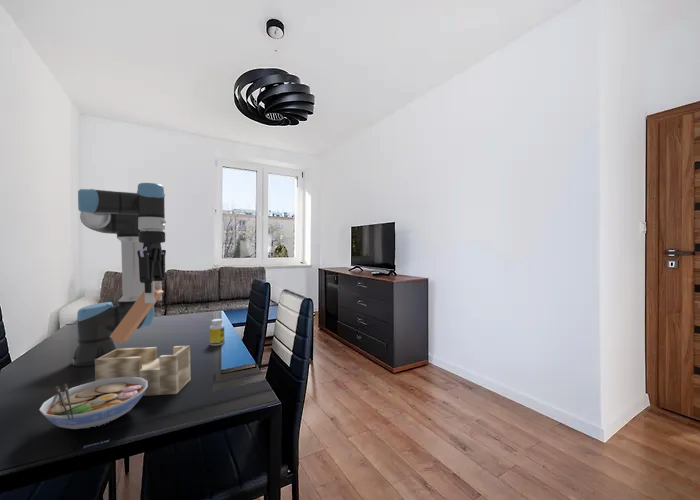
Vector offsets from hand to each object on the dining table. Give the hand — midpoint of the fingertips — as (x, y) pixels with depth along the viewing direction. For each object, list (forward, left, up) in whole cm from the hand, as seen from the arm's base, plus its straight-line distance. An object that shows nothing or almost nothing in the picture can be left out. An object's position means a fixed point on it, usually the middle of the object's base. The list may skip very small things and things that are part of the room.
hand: (153, 301), depth 106 cm
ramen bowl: (-5, -20, -29) cm, 35 cm away
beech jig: (-3, 0, -29) cm, 29 cm away
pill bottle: (+5, +47, -29) cm, 56 cm away
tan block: (-4, 0, -5) cm, 6 cm away
